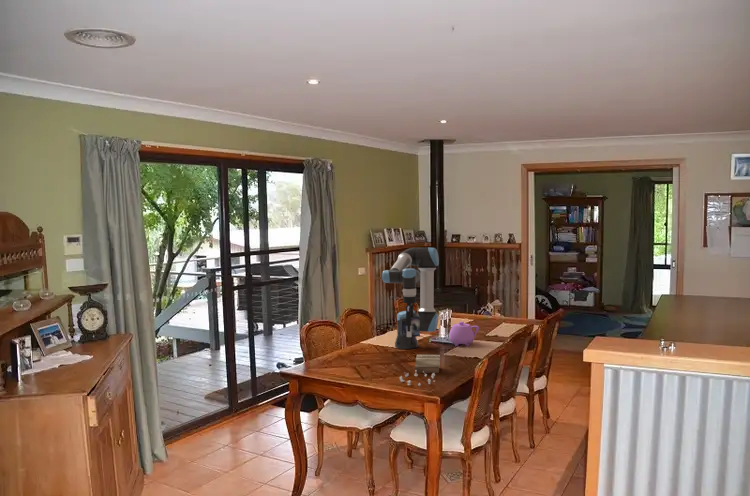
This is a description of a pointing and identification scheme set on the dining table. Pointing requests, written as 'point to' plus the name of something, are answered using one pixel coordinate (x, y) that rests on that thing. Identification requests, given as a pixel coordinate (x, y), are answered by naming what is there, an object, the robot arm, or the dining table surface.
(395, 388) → the dining table surface
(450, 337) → the teapot
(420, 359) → the tower top block
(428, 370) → the tower base block
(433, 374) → the game piece set
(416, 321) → the small box
